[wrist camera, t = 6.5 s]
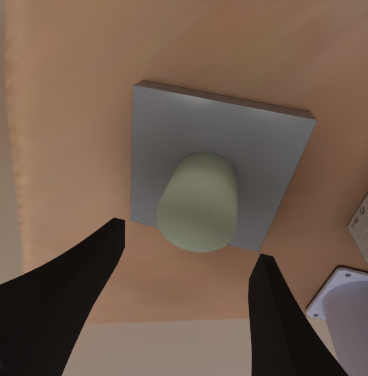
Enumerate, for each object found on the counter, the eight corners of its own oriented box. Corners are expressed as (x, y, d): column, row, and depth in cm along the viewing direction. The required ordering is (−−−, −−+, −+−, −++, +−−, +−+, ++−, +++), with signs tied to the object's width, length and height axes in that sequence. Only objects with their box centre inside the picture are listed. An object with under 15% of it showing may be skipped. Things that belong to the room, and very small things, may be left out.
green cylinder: (245, 159, 17) (246, 199, 13) (229, 213, 20) (226, 259, 16) (177, 145, 18) (158, 179, 14) (170, 200, 21) (153, 242, 16)
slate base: (309, 111, 17) (317, 120, 15) (257, 236, 23) (258, 252, 22) (143, 80, 18) (133, 85, 16) (137, 208, 24) (130, 220, 23)
